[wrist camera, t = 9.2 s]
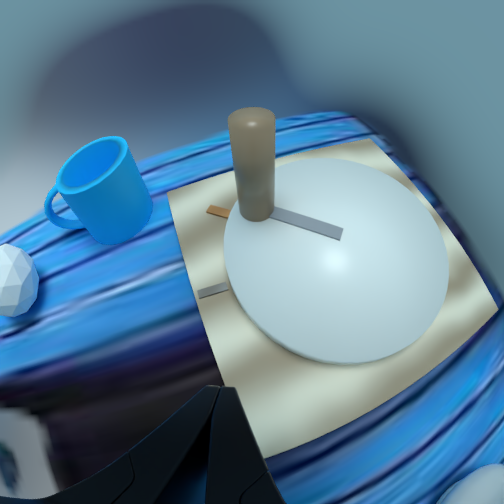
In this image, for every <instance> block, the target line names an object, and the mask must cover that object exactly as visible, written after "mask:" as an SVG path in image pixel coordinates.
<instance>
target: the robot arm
mask: <svg viewBox="0 0 504 504" xmlns="http://www.w3.org/2000/svg"><path fill="white" fill-rule="evenodd" d="M128 452H129V453H128ZM128 452H126V453H125V454H123V455H122V456H121V457H120V458H118V459H117V460H115V461H114V462H113V463H111V464H110V465H108V466H107V467H105V468H104V469H102V470H101V471H99V472H97V473H96V474H94V475H92V476H90V477H89V478H87V479H85V480H83V481H81V482H79V483H77V484H75V485H73V486H71V487H69V488H67V489H65V490H63V491H61V492H58V493H56V494H54V495H51V496H49V497H45V498H40V499H19V498H10V497H3V496H0V504H286V503H285V501H284V499H283V498H282V496H281V494H280V492H279V490H278V488H277V486H276V484H275V482H274V480H273V478H272V476H271V473H270V472H269V469H268V467H267V465H266V462H265V460H264V458H263V455H262V453H261V450H260V448H259V446H258V443H257V441H256V438H255V436H254V434H253V431H252V429H251V426H250V424H249V421H248V418H247V416H246V413H245V411H244V408H243V406H242V403H241V400H240V398H239V395H238V392H237V390H236V388H235V387H230V386H222V387H220V386H213V385H206V386H205V387H204V388H202V389H201V390H200V391H199V392H198V393H197V394H196V395H195V396H194V397H192V398H191V399H190V400H189V401H188V402H187V403H186V404H184V405H183V406H182V407H181V408H180V409H179V410H178V411H176V412H175V413H174V414H173V415H172V416H171V417H169V418H168V419H167V420H166V421H165V422H163V423H162V424H161V425H160V426H159V427H157V428H156V429H155V430H154V431H153V432H151V433H150V434H149V435H148V436H146V437H145V438H144V439H143V440H141V441H140V442H139V443H138V444H136V445H135V446H134V447H133V448H131V449H130V450H129V451H128Z"/></svg>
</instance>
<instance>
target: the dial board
mask: <svg viewBox="0 0 504 504" xmlns="http://www.w3.org/2000/svg"><path fill="white" fill-rule="evenodd" d="M312 158H335V159H343V160H349V161H353V162H357V163H361V164H364V165H367V166H369V167H372V168H375V169H377V170H379V171H381V172H383V173H385V174H387V175H389V176H390V177H392V178H394V179H395V180H397V181H398V182H400V183H401V184H402V185H404V186H405V187H406V188H408V189H409V190H410V191H411V192H412V193H413V194H414V195H415V196H416V197H417V198H418V199H419V200H420V201H421V202H422V203H423V205H424V206H425V207H426V208H427V210H428V211H429V212H430V214H431V215H432V217H433V219H434V220H435V222H436V224H437V226H438V228H439V230H440V232H441V235H442V237H443V240H444V243H445V246H446V250H447V256H448V262H449V279H448V288H447V292H446V296H445V300H444V302H443V305H442V307H441V309H440V312H439V314H438V315H437V317H436V318H435V320H434V321H433V323H432V325H431V326H430V327H429V328H428V329H427V330H426V331H425V332H424V334H423V335H422V336H420V337H419V338H418V339H417V340H415V341H414V342H413V343H412V344H410V345H409V346H407V347H405V348H403V349H402V350H400V351H398V352H396V353H394V354H392V355H390V356H388V357H386V358H383V359H380V360H377V361H374V362H369V363H364V364H358V365H336V364H327V363H321V362H318V361H314V360H310V359H307V358H304V357H302V356H300V355H297V354H295V353H293V352H290V351H288V350H287V349H285V348H284V347H282V346H280V345H279V344H277V343H275V342H274V341H273V340H271V339H270V338H269V337H268V336H267V335H265V334H264V333H263V332H262V331H261V330H260V329H259V328H258V327H257V326H256V325H255V324H254V323H253V322H252V321H251V320H250V318H249V317H248V316H247V314H246V313H245V311H244V310H243V308H242V307H241V305H240V304H239V302H238V300H237V298H236V296H235V294H234V292H233V289H232V286H231V283H230V280H229V277H228V273H227V269H226V265H225V258H224V233H225V228H226V223H227V220H228V217H229V214H230V212H231V210H232V208H233V206H234V204H235V202H236V201H237V200H238V196H237V189H236V181H235V173H234V171H231V172H228V173H224V174H221V175H218V176H215V177H211V178H208V179H205V180H202V181H199V182H196V183H193V184H190V185H187V186H184V187H181V188H178V189H175V190H172V191H170V192H167V196H168V200H169V204H170V208H171V212H172V216H173V220H174V224H175V228H176V232H177V236H178V239H179V243H180V247H181V250H182V254H183V258H184V261H185V265H186V268H187V272H188V275H189V279H190V282H191V285H192V289H193V292H194V295H195V298H196V302H197V305H198V308H199V311H200V314H201V317H202V321H203V324H204V327H205V330H206V333H207V336H208V339H209V342H210V344H211V347H212V350H213V353H214V356H215V359H216V362H217V364H218V367H219V370H220V373H221V375H222V378H223V381H224V383H225V386H230V387H235V388H236V390H237V392H238V395H239V398H240V400H241V403H242V406H243V408H244V411H245V413H246V416H247V418H248V421H249V424H250V426H251V429H252V431H253V434H254V436H255V438H256V441H257V443H258V446H259V448H260V450H261V453H262V455H263V458H267V457H270V456H273V455H276V454H279V453H281V452H284V451H287V450H289V449H292V448H294V447H297V446H299V445H302V444H304V443H306V442H309V441H311V440H313V439H316V438H318V437H320V436H322V435H324V434H327V433H329V432H331V431H333V430H335V429H337V428H339V427H341V426H343V425H345V424H347V423H349V422H351V421H352V420H354V419H356V418H358V417H360V416H362V415H363V414H365V413H367V412H369V411H370V410H372V409H374V408H376V407H377V406H379V405H381V404H382V403H384V402H385V401H387V400H389V399H390V398H392V397H393V396H395V395H396V394H398V393H400V392H401V391H403V390H404V389H406V388H407V387H408V386H410V385H411V384H413V383H414V382H416V381H417V380H418V379H420V378H421V377H423V376H424V375H425V374H427V373H428V372H429V371H431V370H432V369H433V368H434V367H436V366H437V365H438V364H440V363H441V362H442V361H443V360H445V359H446V358H447V357H448V356H449V355H451V354H452V353H453V352H454V351H455V350H457V349H458V348H459V347H460V346H461V345H462V344H463V343H464V342H466V341H467V340H468V339H469V338H470V337H471V336H472V335H473V334H474V333H475V332H476V331H477V330H478V329H480V328H481V327H482V326H483V325H484V324H485V323H486V322H487V321H488V320H489V319H490V318H491V317H492V315H493V314H494V313H495V312H496V311H497V310H498V308H497V306H496V304H495V302H494V300H493V298H492V296H491V295H490V293H489V291H488V289H487V287H486V286H485V284H484V282H483V280H482V279H481V277H480V275H479V274H478V272H477V270H476V269H475V267H474V265H473V264H472V262H471V261H470V259H469V257H468V256H467V254H466V253H465V251H464V250H463V248H462V247H461V245H460V244H459V242H458V241H457V239H456V238H455V237H454V235H453V234H452V232H451V231H450V230H449V228H448V227H447V226H446V224H445V223H444V221H443V220H442V219H441V218H440V216H439V215H438V214H437V212H436V211H435V210H434V208H433V207H432V206H431V205H430V203H429V202H428V201H427V200H426V199H425V197H424V196H423V195H422V194H421V193H420V191H419V190H418V189H417V188H416V187H415V185H414V184H413V183H412V182H411V181H410V180H409V179H408V178H407V176H406V175H405V174H404V173H403V172H402V171H401V170H400V169H399V168H398V167H397V166H396V164H395V163H394V162H393V161H392V160H391V159H390V158H389V157H388V156H387V155H386V154H385V153H384V152H383V151H382V150H381V149H380V148H379V147H378V146H377V145H376V144H375V143H374V142H373V141H372V140H371V139H364V140H359V141H354V142H348V143H343V144H338V145H334V146H329V147H324V148H320V149H315V150H311V151H306V152H302V153H298V154H294V155H290V156H286V157H282V158H278V159H275V168H277V167H279V166H281V165H284V164H287V163H290V162H294V161H298V160H303V159H312Z"/></svg>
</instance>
